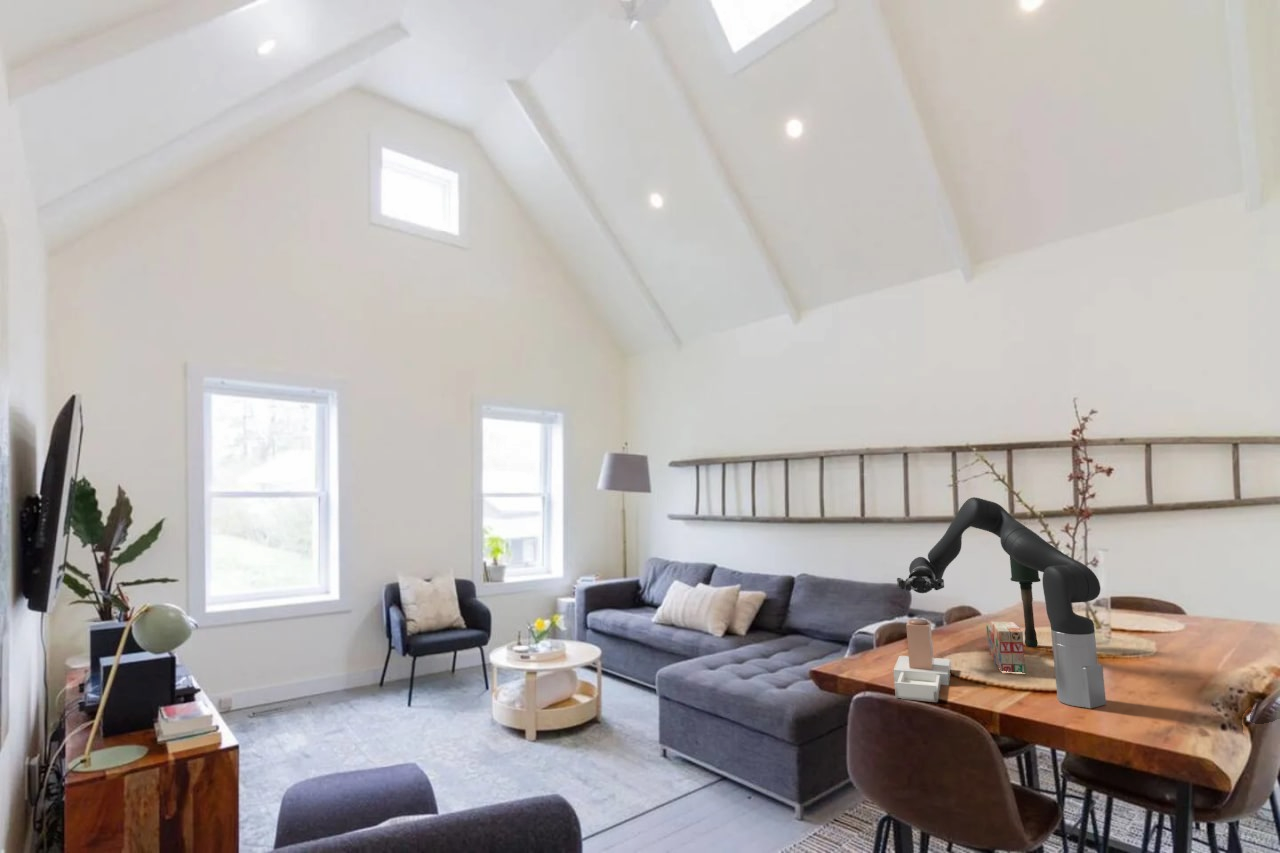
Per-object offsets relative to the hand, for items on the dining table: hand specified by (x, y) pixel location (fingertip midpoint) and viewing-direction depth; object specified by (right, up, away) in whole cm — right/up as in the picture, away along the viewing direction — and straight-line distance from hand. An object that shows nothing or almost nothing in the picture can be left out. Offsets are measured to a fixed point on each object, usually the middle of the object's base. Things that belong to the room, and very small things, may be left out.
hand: (917, 587), depth 199 cm
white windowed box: (-1, -24, -6) cm, 24 cm away
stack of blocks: (+27, -23, +1) cm, 36 cm away
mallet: (+45, -24, +19) cm, 54 cm away
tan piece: (-2, -21, -7) cm, 22 cm away
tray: (-8, -23, -20) cm, 31 cm away
